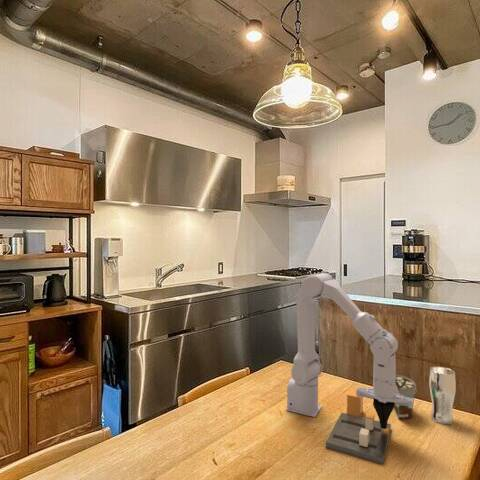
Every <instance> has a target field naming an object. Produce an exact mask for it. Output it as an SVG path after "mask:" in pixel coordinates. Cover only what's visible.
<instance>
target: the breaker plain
mask: <svg viewBox="0 0 480 480" xmlns="http://www.w3.org/2000/svg"><path fill="white" fill-rule="evenodd" d="M368 444H369V430H367V429H363V428H361V430H360V433H359V445H361V446H364V447H368Z"/></svg>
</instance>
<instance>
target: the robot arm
mask: <svg viewBox="0 0 480 480" xmlns="http://www.w3.org/2000/svg"><path fill="white" fill-rule="evenodd" d="M319 298H324V299H330V300H332V301H334V303H335V304H336V305H337V306H338V307H339V308H341V310H343V311H344V313H346V314H347V315H348V317H350V319H352V320H351V321H352V327H353V328H354V329H355V330H356V331H357V332H358V333H359V334H360V336H361V337H362V338H363V339H364V340H365V341H366V342H367V344H368V345H369V349H370V352H371V354H372V355H373V363H372V364H373V367H372V368H373V370H372V371H373V374H372V375H373V376H372V377H373V378H372V381H373V382H372V388H368V387H367V388H365V387H359V386H358V387H356V390H355V391H356V396H357V397H361V396H362V397H363V398H367V399H371V400H372V401H373V402H372V406H373V408H374V410H375V412H376V415H377V417H378V421H380V425H381V428H383V429H386V428H387V423H388V420H389V418H390V416H391V414H392V413H393V411H394V405H395V404H399V405H404V406H408V407H409V408H413V409H414V404H413V398H409V397H406V396H403V395H400V394H397V393H395V382H396V375H397V372H396V371H397V368H396V367H397V366H396V365H397V363H396V352H397V351H398V348H399V341H398V339H397V338H396V336H395V335H394V334H393V333H391V332H389V331H388V330H387V329H385V328H383V327H382V326H381V325H380V324H379V323H378V321H376V320H375V319H376V317H375V316H374V315H373V314H370V313H369V312H368V311H367V312H365V311H361V310H360V308H359V307H358V306H357V305H356V303H354V301H353V300H352V299H351V298H350V297H349V295H348V294H347V292H345V291H344V289H343V288H342V287H341V285H340V284H339V281H337V280H336V279H335V278H334V277H333V276H332V275H331V274H330V273H328V272H321V273H316V274H309V275H307V276H305V277H304V278H303V279H302V280H301V281H300V287H299V289H298V292H297V294H296V298H295V299H296V328H297V332H296V333H297V334H296V335H297V353H296V354H295V356H294V358H293V360H292V361H293V366H291V369H290V374H291V375H290V376H291V378H289V381H288V382H287V389H286V398H287V399H286V411H289V412H292V413H296V414H300V415H303V416H309V417H312V418H316V416H317V415H318V414H319V412H320V411H321V409H322V408H323V405H321V404H319V376H320V375H321V374H322V371H323V367H322V366H323V365H322V364H321V362H320V356H319V354H318V353H317V351H316V343H315V342H316V341H315V340H316V337H315V335H316V334H315V333H316V332H315V309H314V307H315V306H314V302H316V301H317V300H318V299H319Z"/></svg>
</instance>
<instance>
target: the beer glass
mask: <svg viewBox="0 0 480 480" xmlns="http://www.w3.org/2000/svg"><path fill="white" fill-rule="evenodd" d="M428 379H429V382H428V383H429V385H428V386H429V392H430V399H431V406H432V407H431V413H430V418H431V420H432V421H433V422H434V423H435V422H436V423H437V424H439V425H449V426H450V425H453V424H454V415H453V405H454V401H455V398H456V397H455V396H456V389H457V386H456V385H457V384H456V383H457V381H456V371H454V370H453V369H451V368H448V367H445V366H444V367H443V366H430V369H429V378H428Z"/></svg>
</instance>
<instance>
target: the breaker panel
mask: <svg viewBox="0 0 480 480" xmlns="http://www.w3.org/2000/svg"><path fill="white" fill-rule="evenodd" d="M361 428H363V429H365V417H359V416H355V415H351V414H347V412H341V413H340V415H339V416H338V419H337V420H336V422H335V424H334V425H333V428H332V430H331V432H330V433H329V436H328V437H327V439H326V441H325V449H329V450H332V451H335V452H340V453H343V454H346V455H349V456H353V457H357V458H360V459H363V460H367V461H369V462H373V463H377V464H380V465H384V462H385V456H386V453H387V447H388V443H389V440H390V436H391V435H390V434H391V430H392V423H388V422H387V428H386V429H383V428H381V425H380V421H379V420H375V419H374V428H373V430H369V429H367V430H369V444H368V447H364V446H361V445H359V433H360V430H361Z"/></svg>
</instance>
